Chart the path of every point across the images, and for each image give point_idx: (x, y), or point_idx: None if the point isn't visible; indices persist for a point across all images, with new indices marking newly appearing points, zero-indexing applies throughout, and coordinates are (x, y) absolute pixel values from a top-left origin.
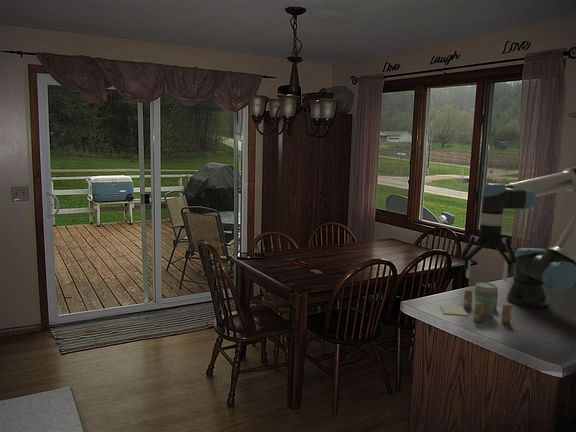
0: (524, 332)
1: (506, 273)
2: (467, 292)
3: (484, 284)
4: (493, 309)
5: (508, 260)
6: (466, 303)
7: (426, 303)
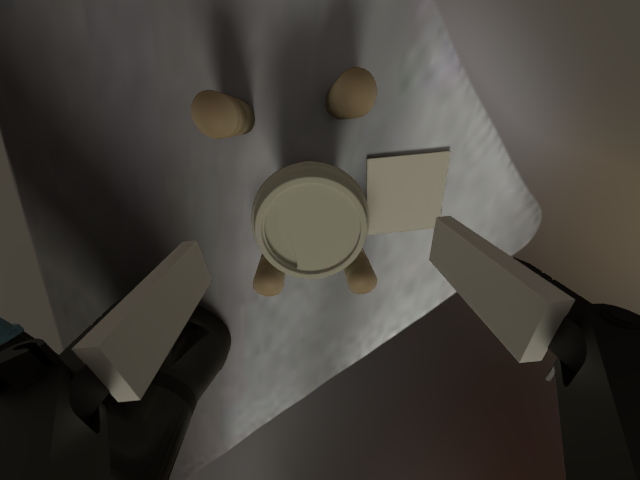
0: (163, 3)
1: (157, 274)
2: (367, 268)
3: (318, 249)
4: None
5: (18, 408)
6: None
7: None
